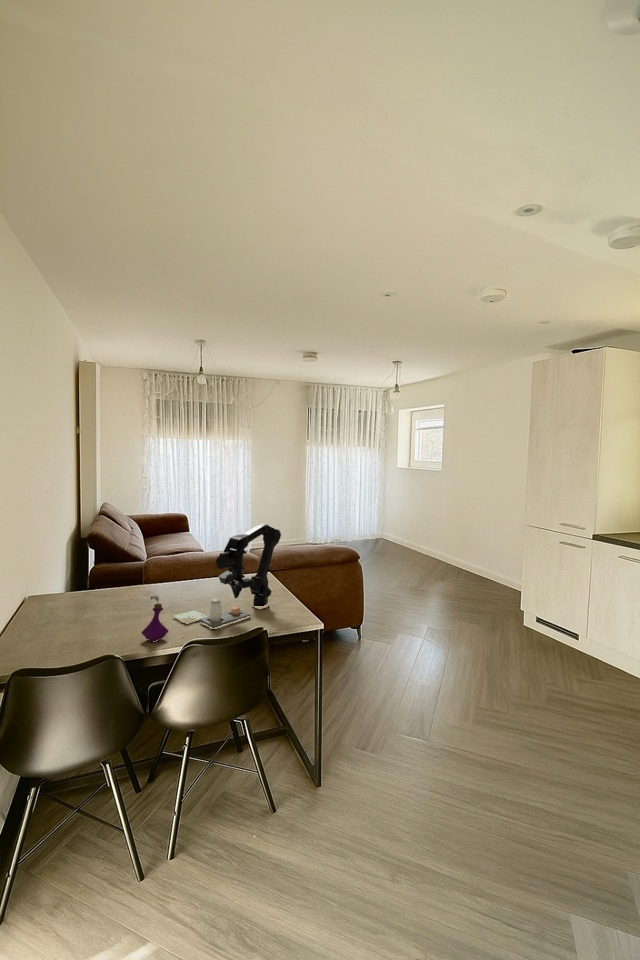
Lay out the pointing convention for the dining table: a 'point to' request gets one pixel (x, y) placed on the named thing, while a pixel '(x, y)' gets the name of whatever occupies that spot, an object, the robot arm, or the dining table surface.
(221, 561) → the robot arm
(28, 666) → the dining table surface
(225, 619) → the dark grey base plate
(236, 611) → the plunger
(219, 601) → the cylinder
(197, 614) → the sage pad
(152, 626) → the perfume bottle
